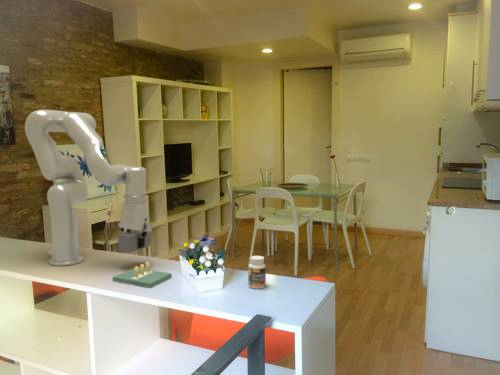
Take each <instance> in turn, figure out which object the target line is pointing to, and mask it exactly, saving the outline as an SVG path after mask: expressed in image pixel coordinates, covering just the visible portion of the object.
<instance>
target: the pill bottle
mask: <svg viewBox="0 0 500 375" xmlns="http://www.w3.org/2000/svg"><path fill="white" fill-rule="evenodd" d="M249 261H250V263H249V264H248V271H247V272H248V274H247V276H248V282H247V283H248V287H249V288H252V289H256V290H257V289H263V288H265V287H266V272H267V271H266V264H265V263H264V261H265V257H264V256H262V255H252V256H250V257H249Z"/></svg>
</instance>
